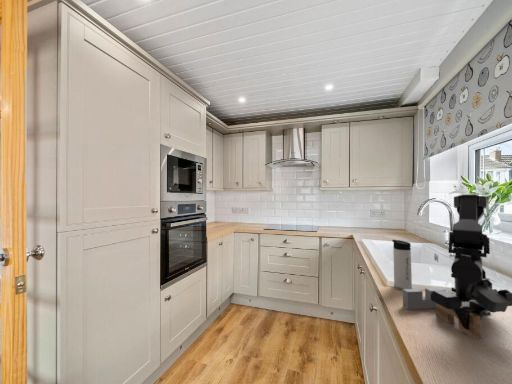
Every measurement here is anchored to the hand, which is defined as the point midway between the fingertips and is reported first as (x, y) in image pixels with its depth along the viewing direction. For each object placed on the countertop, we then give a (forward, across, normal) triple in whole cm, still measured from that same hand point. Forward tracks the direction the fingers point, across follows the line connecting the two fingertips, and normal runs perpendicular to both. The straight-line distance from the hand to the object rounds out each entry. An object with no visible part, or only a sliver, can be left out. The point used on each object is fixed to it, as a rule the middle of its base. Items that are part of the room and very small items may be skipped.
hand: (469, 328), depth 65 cm
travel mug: (+2, +4, +32) cm, 32 cm away
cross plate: (+2, 0, +4) cm, 4 cm away
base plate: (+2, 0, +16) cm, 16 cm away
